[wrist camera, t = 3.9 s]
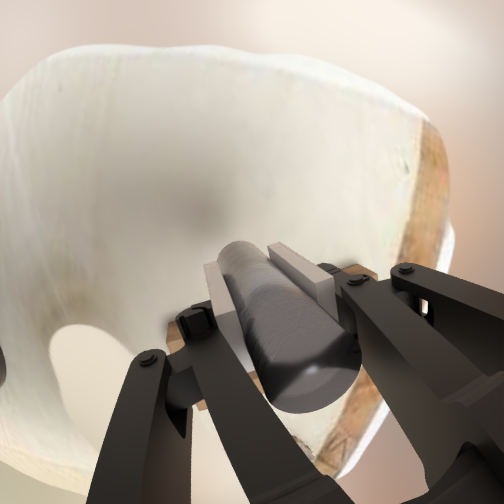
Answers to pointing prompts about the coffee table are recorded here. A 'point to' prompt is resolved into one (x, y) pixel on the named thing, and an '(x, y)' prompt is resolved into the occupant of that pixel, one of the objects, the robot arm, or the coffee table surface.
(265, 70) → the coffee table surface
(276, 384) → the peg
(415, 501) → the robot arm
